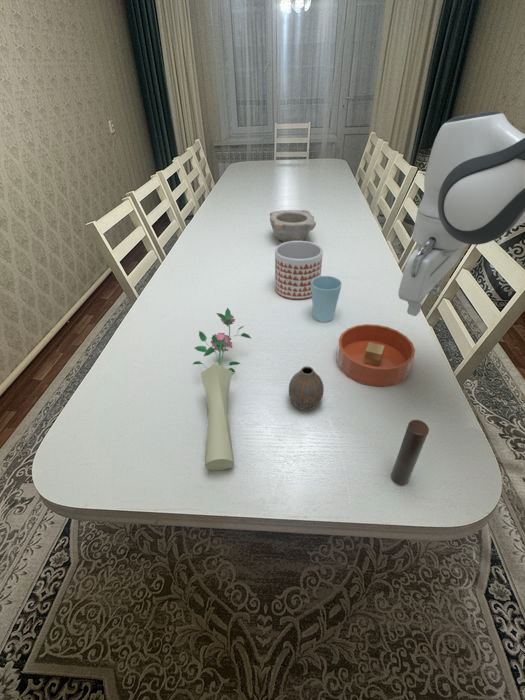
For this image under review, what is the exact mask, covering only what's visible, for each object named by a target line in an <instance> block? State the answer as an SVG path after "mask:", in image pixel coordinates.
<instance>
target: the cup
mask: <svg viewBox="0 0 525 700" xmlns="http://www.w3.org/2000/svg"><path fill="white" fill-rule="evenodd" d="M311 287H312V297H311V301H312V303H311V304H312V317H313V318H314V320H315V321H316V322H320V323H328V322H331V321H333V320H334V317H335V314H336V309H337V306H338V305H337V304H338V301H339V297H340V292H341V289H342V281H341V279H339V278H338V277H335V276H330V275H321V276H319V277H316V278H314V279H313V280H312V281H311Z"/></svg>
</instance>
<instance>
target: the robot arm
mask: <svg viewBox="0 0 525 700" xmlns="http://www.w3.org/2000/svg"><path fill="white" fill-rule="evenodd" d="M427 161H428V162H427V165H426V169H425V174H424V179H423V186H424V187H423V188H424V191H423V195H422V199H421V201H420V202H419V205H418V207H417V211H416V215H415V221H414V226H413V230H412V235H411V238H412V240H413V241H414V243H416V244H417V248H416V250H414V251H413V252H412V253H411V254H410V255H409V256H408V258H407V261H406V264H405V266H404V269H403V273H402V276H401V280H400V284H399V288H398V292H397V293H398V298H399V299H400V300H401V301H405V302H407V304H408V305H407V306H408V307H407V311H406V313H407V315H410V316H412V317H416V316H418V315H419V313H420V312H421V309H422V307H423V306H422V301H423V300H424V299H425V297H427V295H428V294H430V295H433V296H435V295H436V294H437V293H438V292H439V291H440V287H441V284H442V283H443V281H444V278H445V277H446V276H447V274H448V272H449V271H450V270H451V269H452V268H453V267H454V266H455V265H456V264H457V263H458V261H459V259H460V257H461V255H462V253H463V251H464V248H465V247H467V246H468V245H473V246H475V245H477V246H478V245H484V244H487V243H490V242H492V241H494V240H496V239H498V238H499V237H501V236H503V235H504V234H506V233H507V232H509V231H511V230H513V229H514V228H517V227H519V226H521V225H523V224H525V133H523V132H522V131H520V130H519V129H517V128H516V127H515V126H514V125H512V124H511V122H510V121H509V120H508V118H507V116H506V115H505V114H504V113H503V112H501V111H499V110H487V111H482V112H476V113H469V114H464V115H459V116H454V117H452V118H450V119H448V120H447V121H445V122H444V123H443V124H442V125H441V126H440V128H439V130H438V132H437V134H436V136H435V139H434V142H433V144H432V147H431V151H430V154H429V158H428V160H427Z"/></svg>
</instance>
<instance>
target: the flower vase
mask: <svg viewBox="0 0 525 700" xmlns="http://www.w3.org/2000/svg"><path fill="white" fill-rule="evenodd" d="M216 315H217V316H218V317H219V318H220V321H221V323H222V324H223V325H225V326H226V327H228V334H225V332H218V333H217V334H216V333H215V334H212V337H211V340H210V344H211V346H210V345H209V344H208V343H207V341H206V340H207V339H208V337H207V335H206V334H205V333H204V332H202V331H201V330H199V331H198V336H199V340H200V341H201V342H205V344H206V345H207V346H208V348H207V346H205V345H197V346H195V347H194V349H195V350H196V351H197V352H201V353H204V354H203V357H206V356H210V355H211V354H213V353H215V357H216V360H217V362H214V363H213V364H211V365H210V366H209V367H205V370H203V371H202V372H200V375H201V379H202V383H203V387H204V392H205V395H206V401H207V411H208V412H207V434H206V435H207V436H206V445H205V457H204V458H205V459H204V467H205V469H207V470H211V471H225V470H228V469H230V468H232V467H233V466H234V465H235V459H234V454H233V453H234V452H233V448H232V439H231V431H230V424H229V416H228V399H229V392H230V386H231V381H232V375H233V373H235V374H236V369H234V368H233V367H228V366H238V365H241V362H238V361H237V360H236V361H233V360H231V361H229V362H228V364H226V366H225V365H223V366H222V365H221V364H222V361H223V357H224V354H225V352H229V349H233V341H232V337H231V328H230V327H231V325H233V324H234V323H236V322H235V320H236V319H235V317H234V315H232V313H231V310H230V309H229V307H226V309H225V311H224V314H223V313H219V312H216ZM244 327H245V326H244V325H243V326H240V327H239V328H238V329H237V331H240V330H241V329H243V328H244ZM238 333H239V332H237V334H235V335H234V337H238V336H239V337H240V336H241V337H243V338H245V339H246V338H247V339H252V337H251V336H250V334H249V333H246V332H242V333H241V334H238ZM228 348H229V349H228ZM216 351H217V352H216ZM221 353H222V354H221ZM192 365H203V363H202V362H201V361H200V360H196V361H194V362H193V363H192Z"/></svg>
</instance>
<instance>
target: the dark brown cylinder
mask: <svg viewBox="0 0 525 700" xmlns="http://www.w3.org/2000/svg"><path fill="white" fill-rule="evenodd" d="M406 427H407V428H406V430H405V432H404V436H403V439H402V441H401V445H400V447H399V451H398V453H397V456H396V459H395V461H394V465H393V468H392V471H391V474H390V478H391V481H392V482H393V483H394V484H395V485H398V486H406V485H408V483H409V481H410V478H411V476H412V474H413V471H414V470H415V466H416V465H417V462H418V459H419V458H420V457H419V456H420V455H421V452H422V449H423V447H424V444H425V442H426V440H427V437H428V434H429V433H430V427H429V425H428V424H426V422H424V421H423V420H419V419H412V420H410V421H409V422H408V424H407V426H406Z"/></svg>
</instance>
